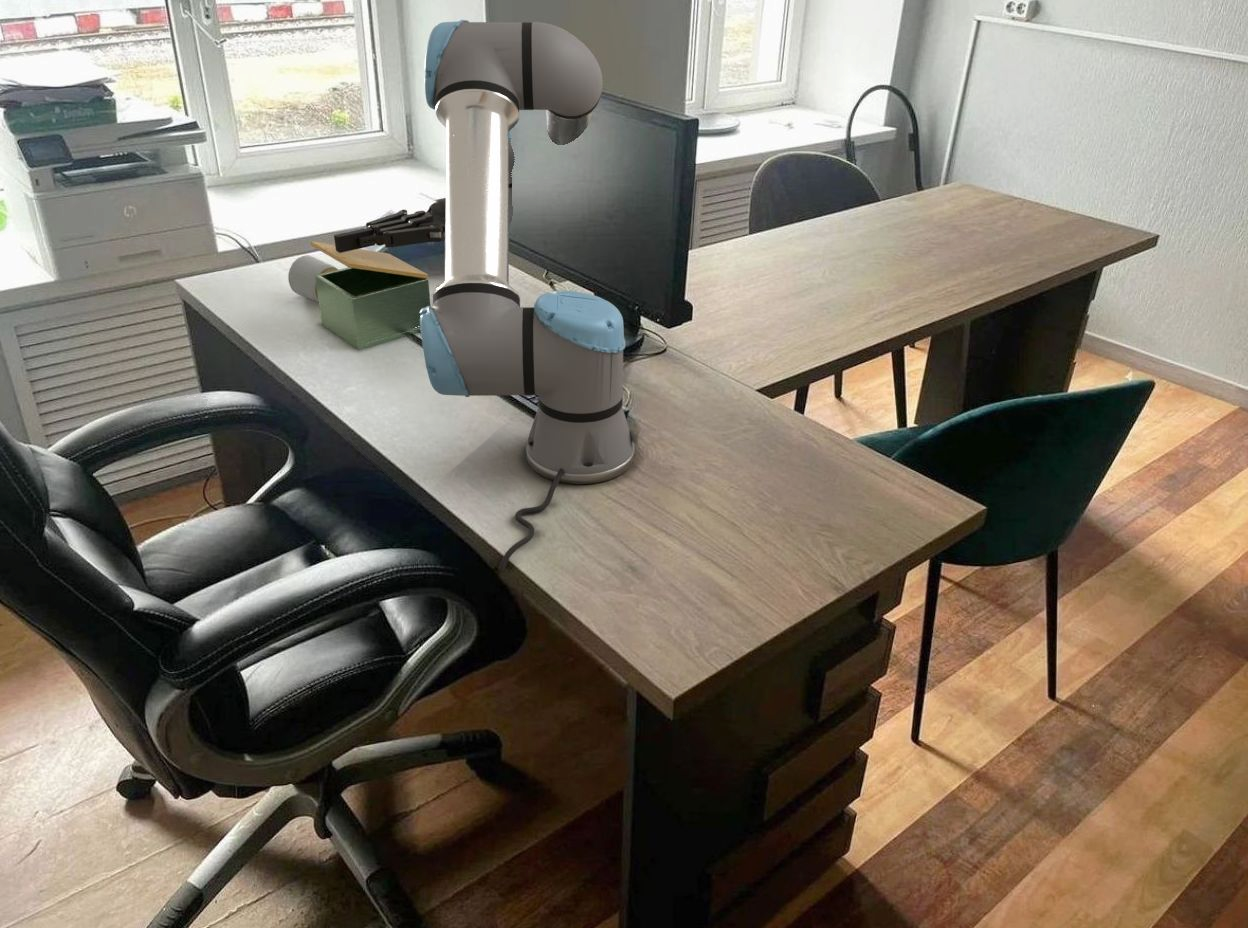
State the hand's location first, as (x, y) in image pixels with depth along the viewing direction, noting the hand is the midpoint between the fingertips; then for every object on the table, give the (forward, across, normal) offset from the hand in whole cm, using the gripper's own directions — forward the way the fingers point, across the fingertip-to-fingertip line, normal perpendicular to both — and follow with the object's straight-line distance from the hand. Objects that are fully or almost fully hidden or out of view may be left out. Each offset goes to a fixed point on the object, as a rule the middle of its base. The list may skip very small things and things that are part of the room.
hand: (337, 243), depth 167 cm
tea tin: (-5, 0, -16) cm, 17 cm away
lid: (-5, 0, -4) cm, 7 cm away
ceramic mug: (-5, +18, -17) cm, 25 cm away
